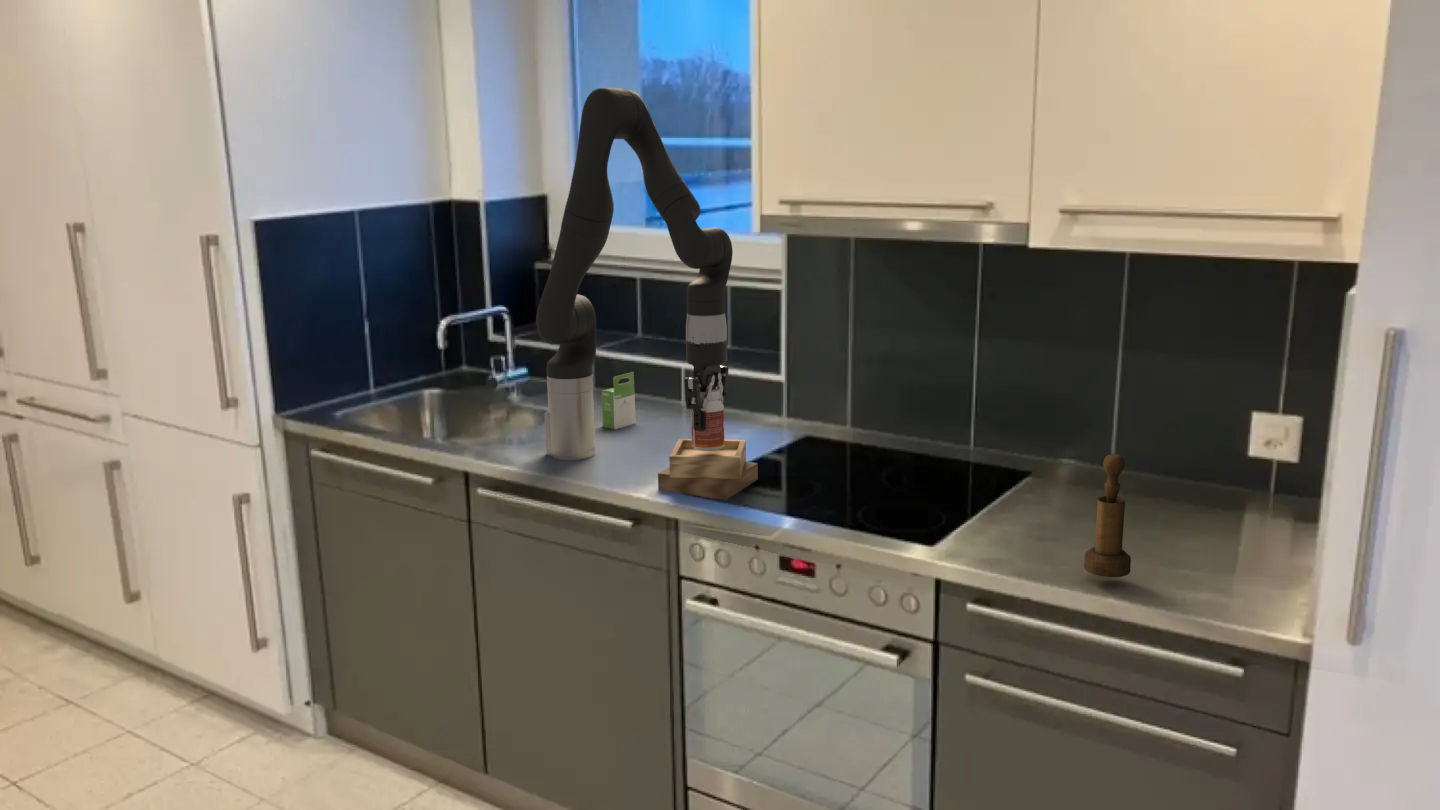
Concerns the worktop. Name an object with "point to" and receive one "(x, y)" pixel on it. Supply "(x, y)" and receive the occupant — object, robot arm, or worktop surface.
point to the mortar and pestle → (1109, 527)
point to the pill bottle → (710, 425)
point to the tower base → (709, 483)
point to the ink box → (619, 403)
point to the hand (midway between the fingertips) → (707, 425)
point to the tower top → (708, 460)
